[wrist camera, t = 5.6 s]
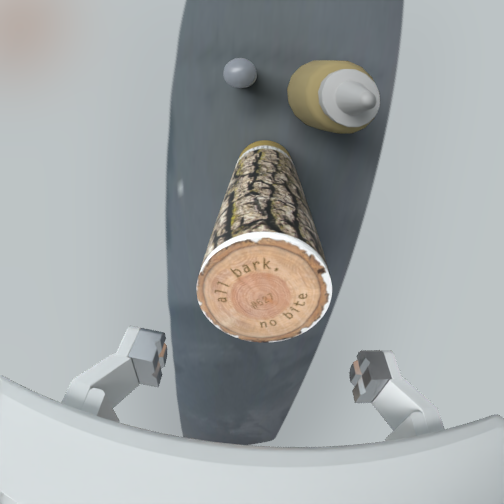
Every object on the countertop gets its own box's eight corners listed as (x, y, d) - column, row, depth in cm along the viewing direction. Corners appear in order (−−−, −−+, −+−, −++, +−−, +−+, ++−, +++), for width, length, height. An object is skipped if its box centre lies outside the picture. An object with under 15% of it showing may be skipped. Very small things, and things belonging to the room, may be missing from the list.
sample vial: (248, 58, 29) (245, 52, 24) (262, 80, 30) (262, 78, 25) (225, 71, 30) (217, 68, 25) (238, 92, 31) (233, 93, 26)
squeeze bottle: (357, 118, 32) (430, 150, 17) (295, 132, 33) (322, 172, 18) (341, 57, 28) (407, 36, 13) (276, 70, 30) (287, 51, 14)
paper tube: (227, 158, 36) (168, 279, 14) (273, 128, 33) (289, 208, 12) (257, 200, 38) (246, 356, 17) (302, 173, 36) (352, 311, 15)
